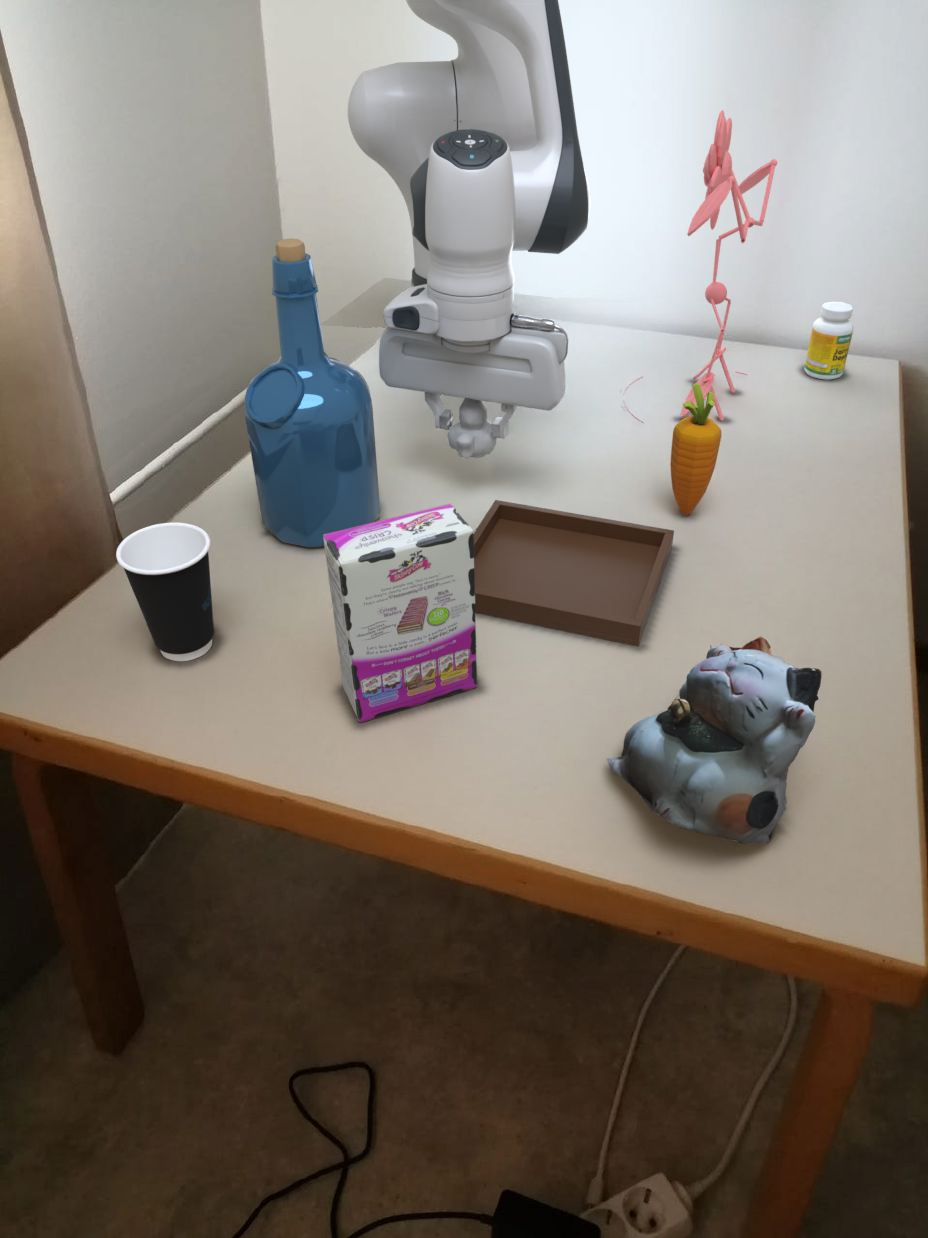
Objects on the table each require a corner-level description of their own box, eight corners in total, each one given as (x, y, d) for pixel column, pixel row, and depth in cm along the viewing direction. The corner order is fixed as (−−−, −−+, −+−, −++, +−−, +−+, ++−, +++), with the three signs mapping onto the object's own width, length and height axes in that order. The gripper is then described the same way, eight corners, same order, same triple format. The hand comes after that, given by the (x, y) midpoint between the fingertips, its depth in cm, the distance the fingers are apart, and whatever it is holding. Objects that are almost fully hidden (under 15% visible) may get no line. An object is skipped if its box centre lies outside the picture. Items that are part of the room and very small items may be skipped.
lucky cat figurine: (588, 742, 80) (656, 588, 76) (713, 776, 83) (784, 629, 79) (653, 844, 66) (740, 662, 62) (800, 879, 69) (891, 708, 65)
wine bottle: (317, 478, 115) (286, 214, 97) (405, 511, 109) (390, 235, 91) (233, 529, 107) (182, 249, 88) (324, 568, 100) (289, 275, 82)
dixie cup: (127, 644, 91) (99, 545, 84) (201, 608, 95) (180, 512, 88) (170, 684, 86) (144, 583, 80) (246, 645, 90) (227, 546, 84)
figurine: (749, 370, 139) (798, 96, 118) (718, 449, 120) (770, 139, 99) (644, 355, 144) (672, 89, 123) (598, 429, 125) (622, 129, 103)
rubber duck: (503, 446, 112) (504, 381, 107) (485, 474, 107) (485, 407, 102) (458, 439, 113) (458, 375, 108) (439, 466, 108) (437, 400, 103)
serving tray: (495, 518, 108) (495, 499, 106) (671, 549, 103) (674, 530, 101) (439, 605, 95) (439, 585, 94) (638, 646, 90) (640, 626, 88)
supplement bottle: (815, 362, 141) (830, 296, 135) (849, 372, 138) (866, 305, 132) (796, 372, 138) (810, 306, 132) (830, 383, 135) (846, 315, 129)
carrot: (707, 529, 106) (729, 400, 97) (661, 524, 106) (678, 396, 97) (708, 505, 110) (728, 380, 100) (663, 501, 110) (679, 376, 101)
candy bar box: (456, 656, 89) (452, 500, 79) (478, 689, 85) (478, 530, 75) (339, 689, 85) (320, 530, 75) (357, 725, 82) (340, 563, 72)
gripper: (577, 310, 99) (569, 432, 108) (392, 287, 105) (399, 405, 113) (560, 333, 94) (554, 459, 103) (368, 308, 100) (377, 430, 109)
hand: (471, 431), depth 108 cm, fingers closed on rubber duck, 5 cm apart
